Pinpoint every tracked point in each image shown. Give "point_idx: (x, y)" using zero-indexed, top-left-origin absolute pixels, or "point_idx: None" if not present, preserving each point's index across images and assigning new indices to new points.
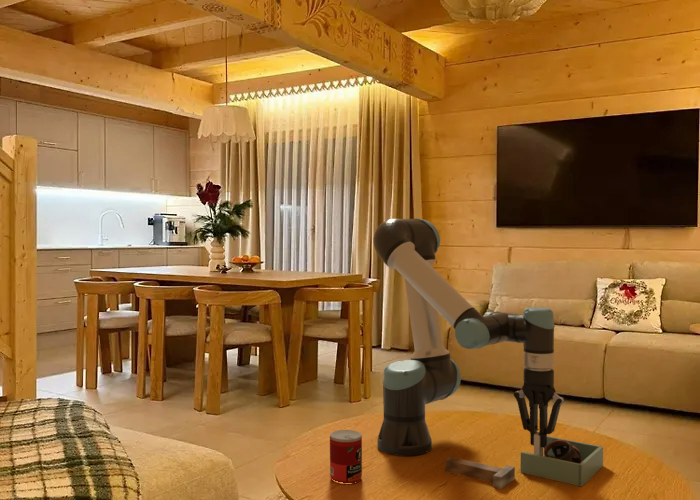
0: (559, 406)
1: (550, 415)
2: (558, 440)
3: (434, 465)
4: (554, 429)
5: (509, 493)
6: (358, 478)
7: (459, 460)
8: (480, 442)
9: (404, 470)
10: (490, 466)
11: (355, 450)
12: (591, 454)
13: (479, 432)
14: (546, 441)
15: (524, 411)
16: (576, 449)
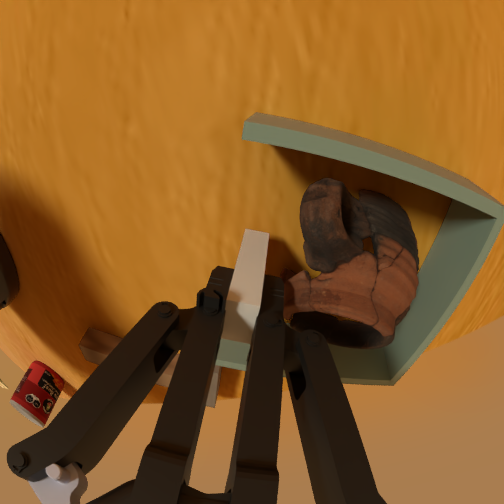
0: (366, 495)
1: (305, 455)
2: (343, 316)
3: (65, 322)
4: (327, 345)
5: (238, 395)
6: (61, 385)
7: (102, 358)
8: (32, 126)
9: (58, 347)
10: (169, 377)
11: (48, 415)
12: (448, 310)
13: (10, 45)
14: (283, 297)
15: (129, 414)
16: (409, 305)
